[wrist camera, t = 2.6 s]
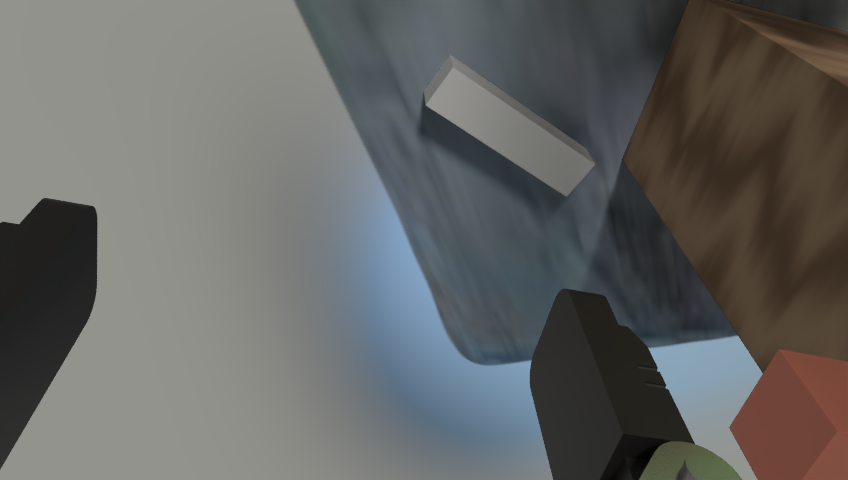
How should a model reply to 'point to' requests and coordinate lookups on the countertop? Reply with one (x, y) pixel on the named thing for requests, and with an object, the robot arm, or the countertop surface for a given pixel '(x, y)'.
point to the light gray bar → (507, 126)
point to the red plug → (797, 419)
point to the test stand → (755, 171)
